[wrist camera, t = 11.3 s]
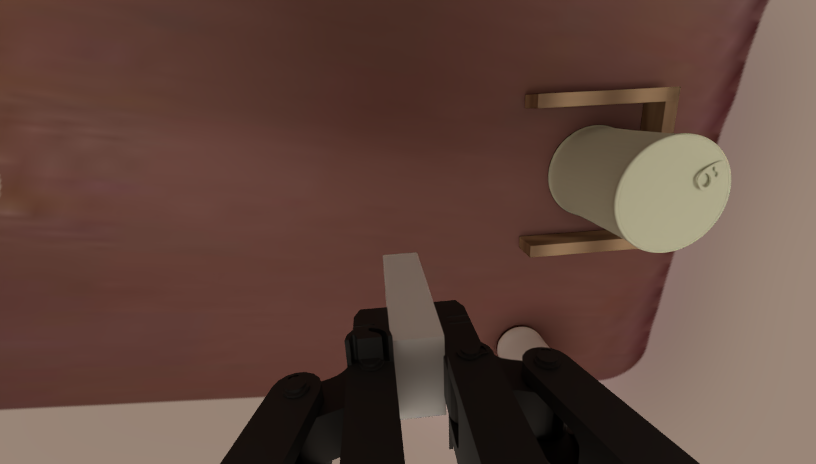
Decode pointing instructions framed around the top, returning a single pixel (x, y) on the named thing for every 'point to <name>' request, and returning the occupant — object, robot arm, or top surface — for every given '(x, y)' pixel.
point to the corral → (654, 119)
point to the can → (642, 184)
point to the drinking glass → (518, 342)
